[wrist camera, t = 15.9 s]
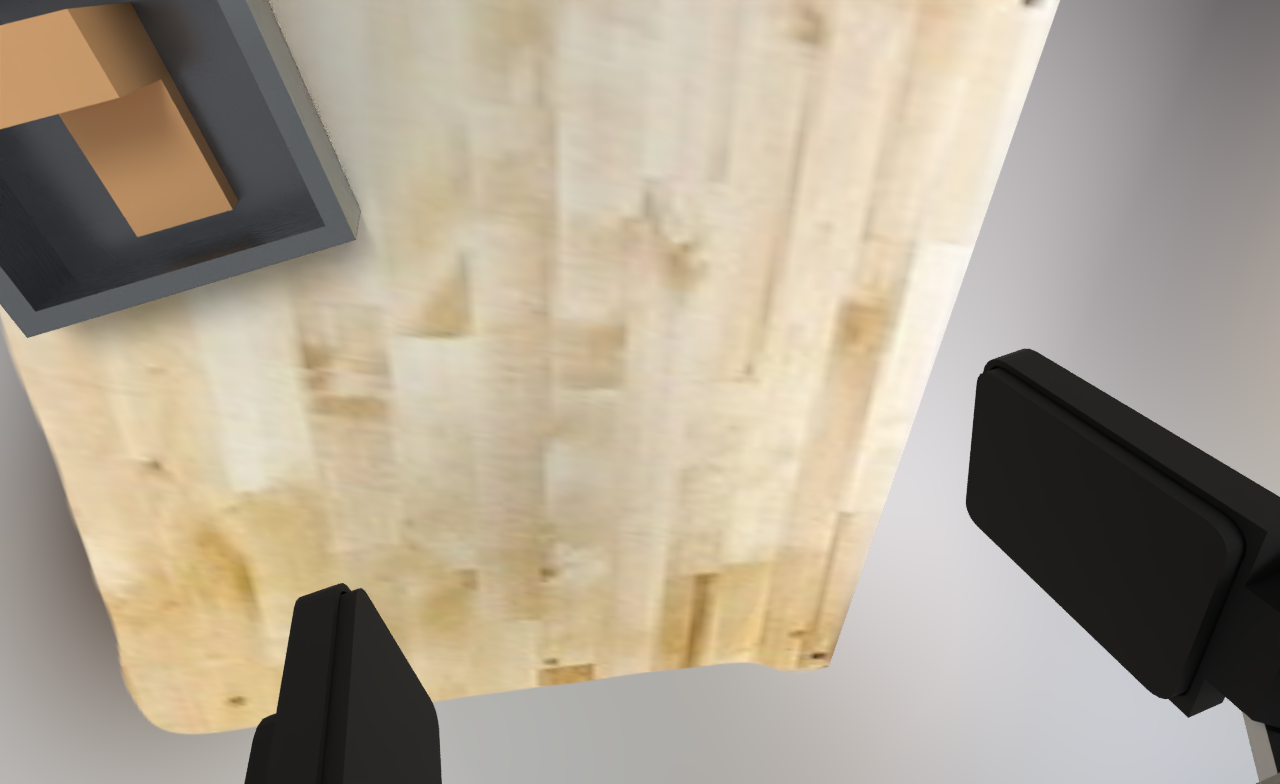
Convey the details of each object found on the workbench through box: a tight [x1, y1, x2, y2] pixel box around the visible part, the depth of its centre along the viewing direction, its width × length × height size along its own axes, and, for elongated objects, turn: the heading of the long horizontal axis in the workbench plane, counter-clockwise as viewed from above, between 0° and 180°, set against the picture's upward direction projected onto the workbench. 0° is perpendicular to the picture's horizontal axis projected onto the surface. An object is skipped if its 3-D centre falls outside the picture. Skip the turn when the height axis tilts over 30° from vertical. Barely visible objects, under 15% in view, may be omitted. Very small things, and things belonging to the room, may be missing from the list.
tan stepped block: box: [0, 2, 239, 237], centre depth 30 cm, size 9×4×7 cm, turn 12°
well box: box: [0, 0, 361, 338], centre depth 31 cm, size 14×15×5 cm
